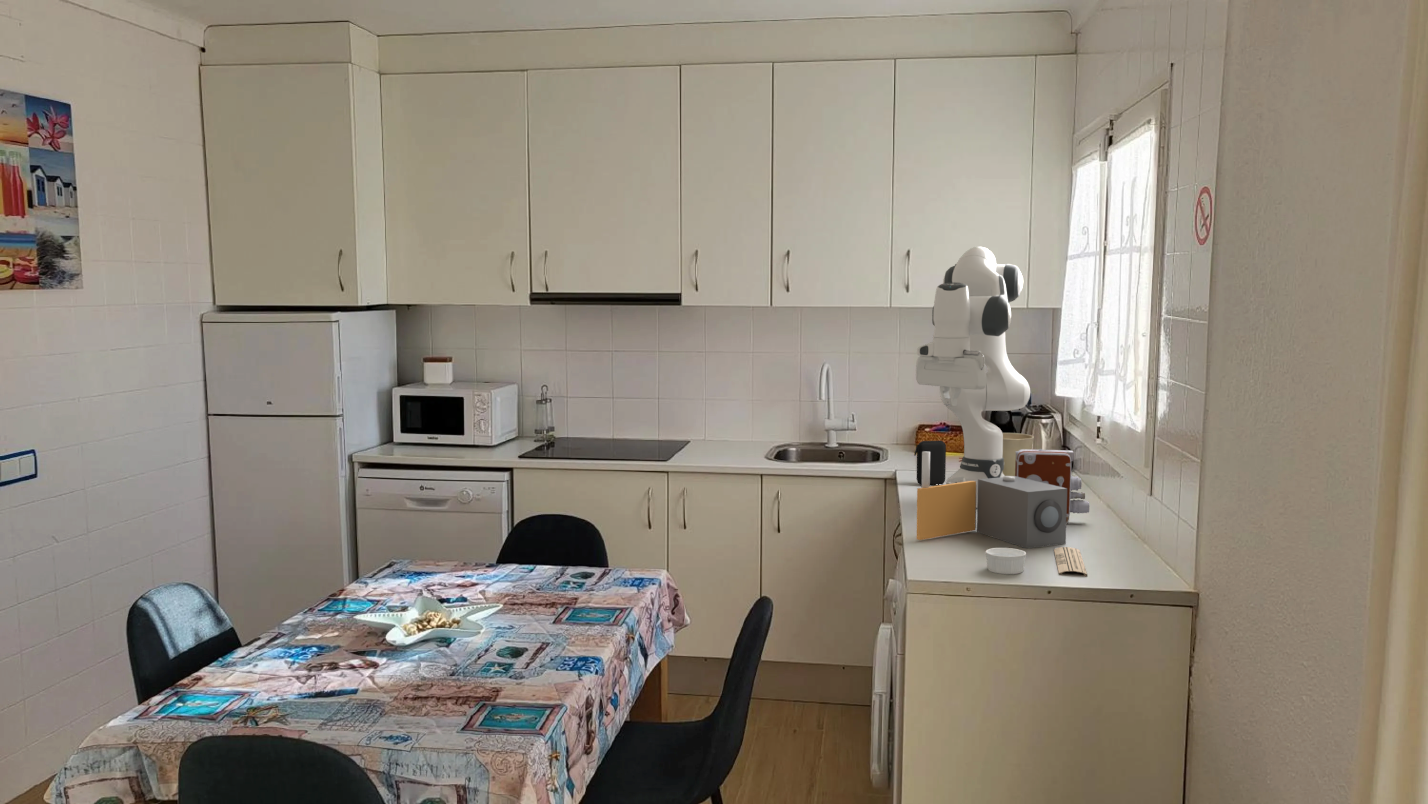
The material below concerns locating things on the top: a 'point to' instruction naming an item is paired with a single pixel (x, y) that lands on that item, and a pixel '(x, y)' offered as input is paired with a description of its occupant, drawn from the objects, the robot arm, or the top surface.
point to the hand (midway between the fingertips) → (950, 405)
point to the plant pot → (1014, 449)
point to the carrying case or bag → (932, 461)
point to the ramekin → (1005, 560)
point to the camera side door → (944, 506)
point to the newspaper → (1069, 560)
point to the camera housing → (1022, 511)
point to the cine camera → (1052, 474)
